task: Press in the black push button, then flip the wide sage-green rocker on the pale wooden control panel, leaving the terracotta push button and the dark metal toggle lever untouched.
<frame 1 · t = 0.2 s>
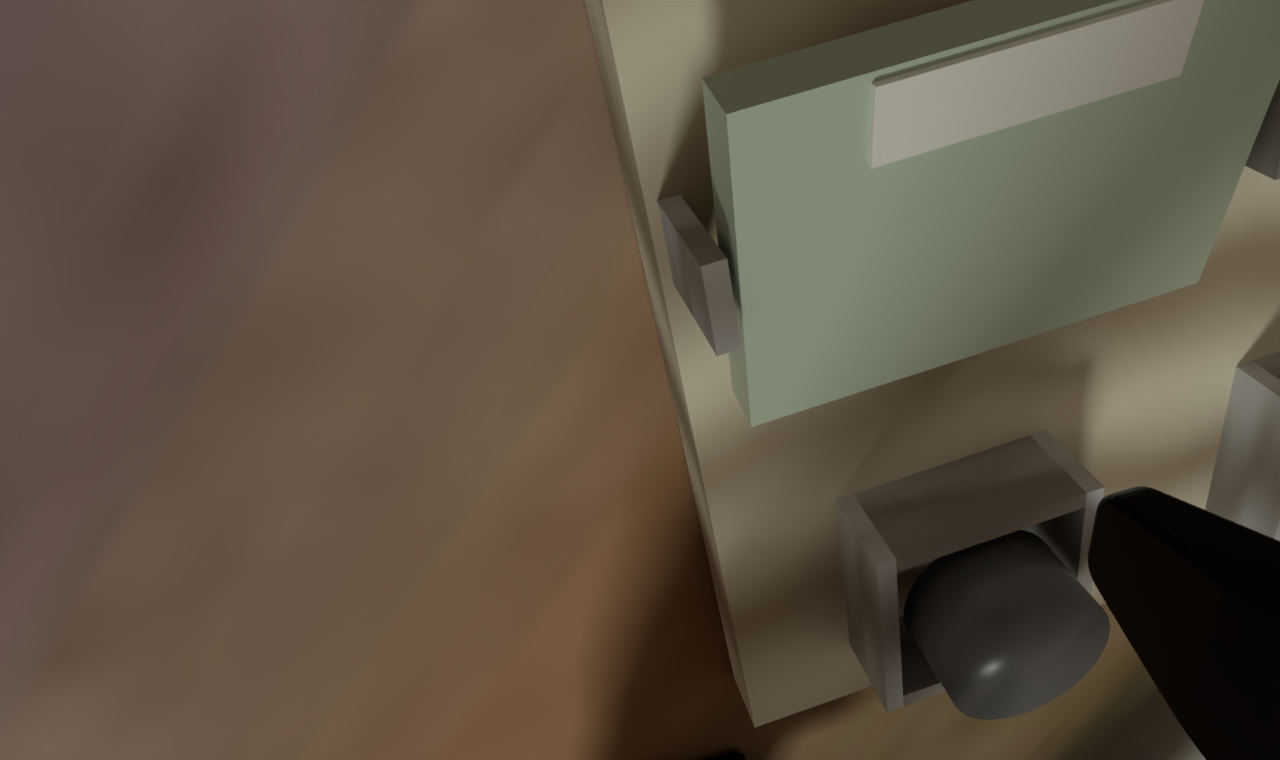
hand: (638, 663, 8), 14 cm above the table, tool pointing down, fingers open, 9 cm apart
green rocker: (991, 198, 19), point 4 cm above the table, hinge at -12.0°
control panel: (1105, 275, 26), on the table
black button: (1003, 624, 25), point 5 cm above the table, slide at 0.0 cm
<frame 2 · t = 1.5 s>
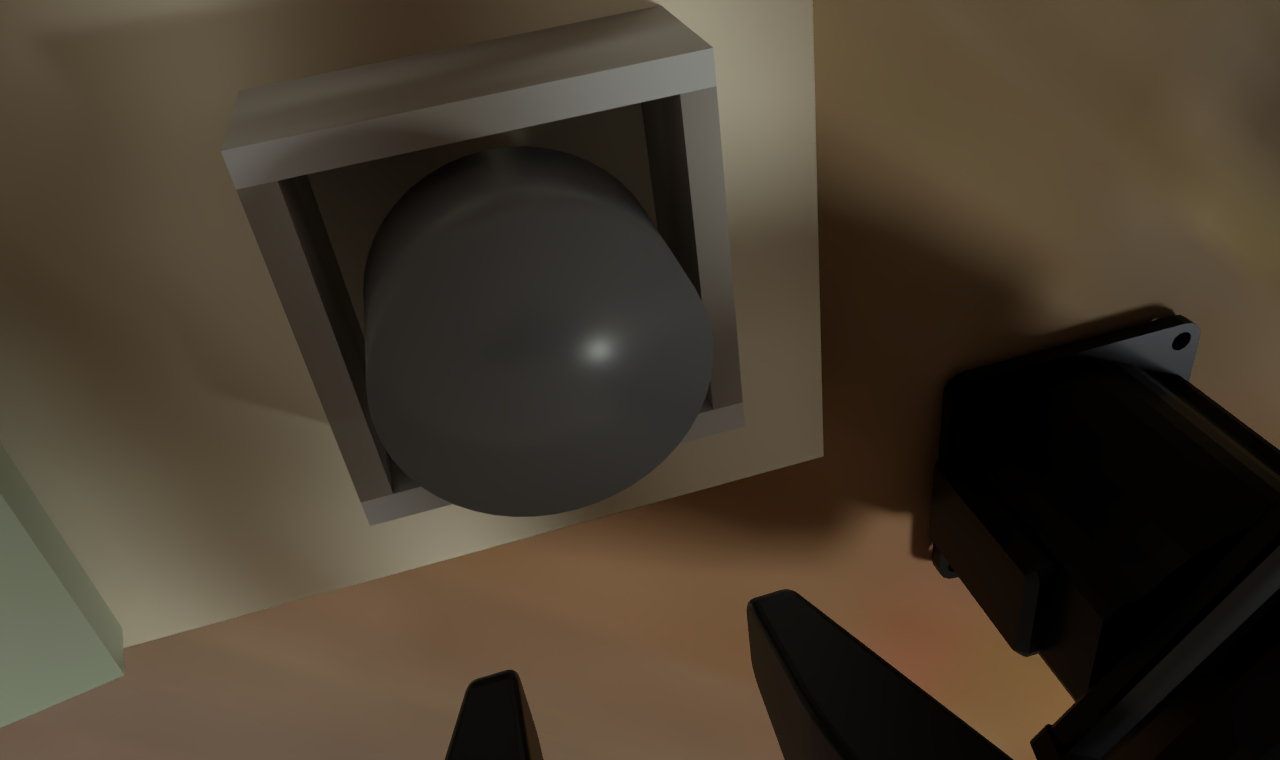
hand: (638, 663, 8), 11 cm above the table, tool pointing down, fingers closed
black button: (531, 333, 13), point 5 cm above the table, slide at 0.0 cm
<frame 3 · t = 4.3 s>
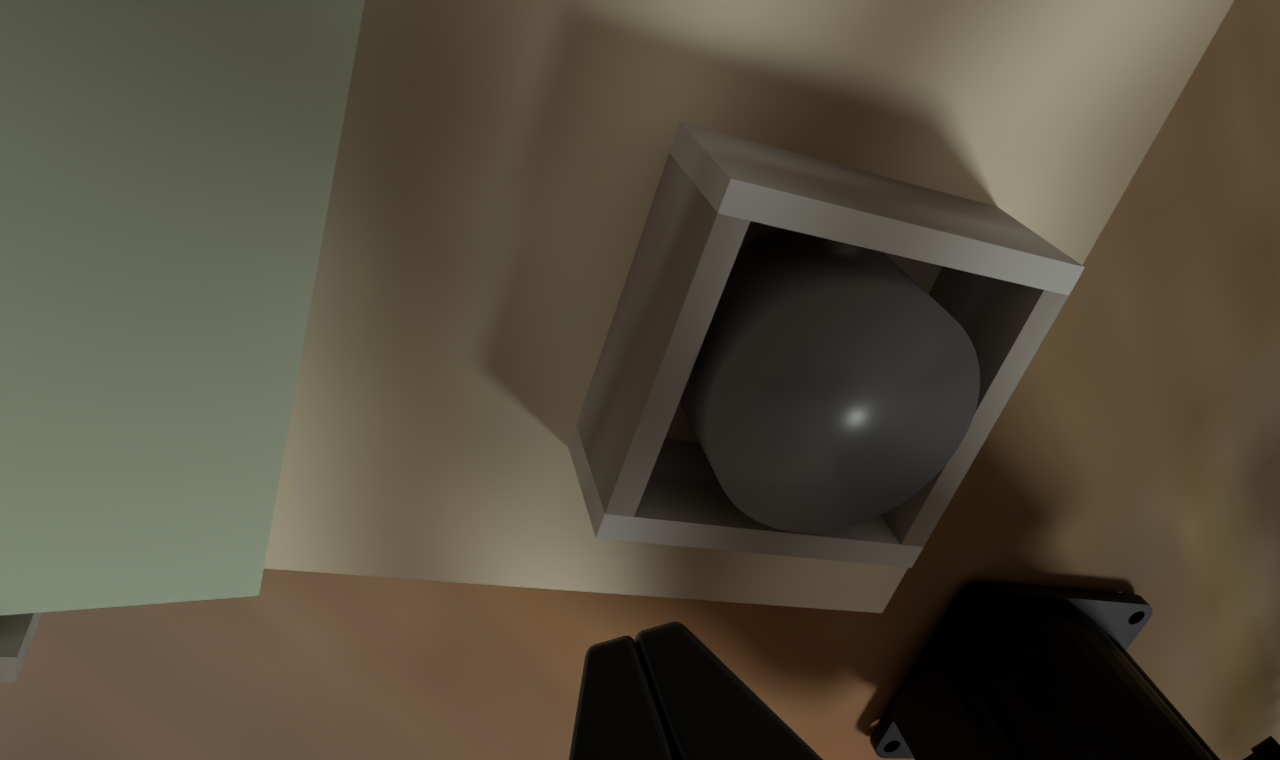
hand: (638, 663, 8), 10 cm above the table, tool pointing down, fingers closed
black button: (817, 379, 16), point 4 cm above the table, slide at 1.4 cm
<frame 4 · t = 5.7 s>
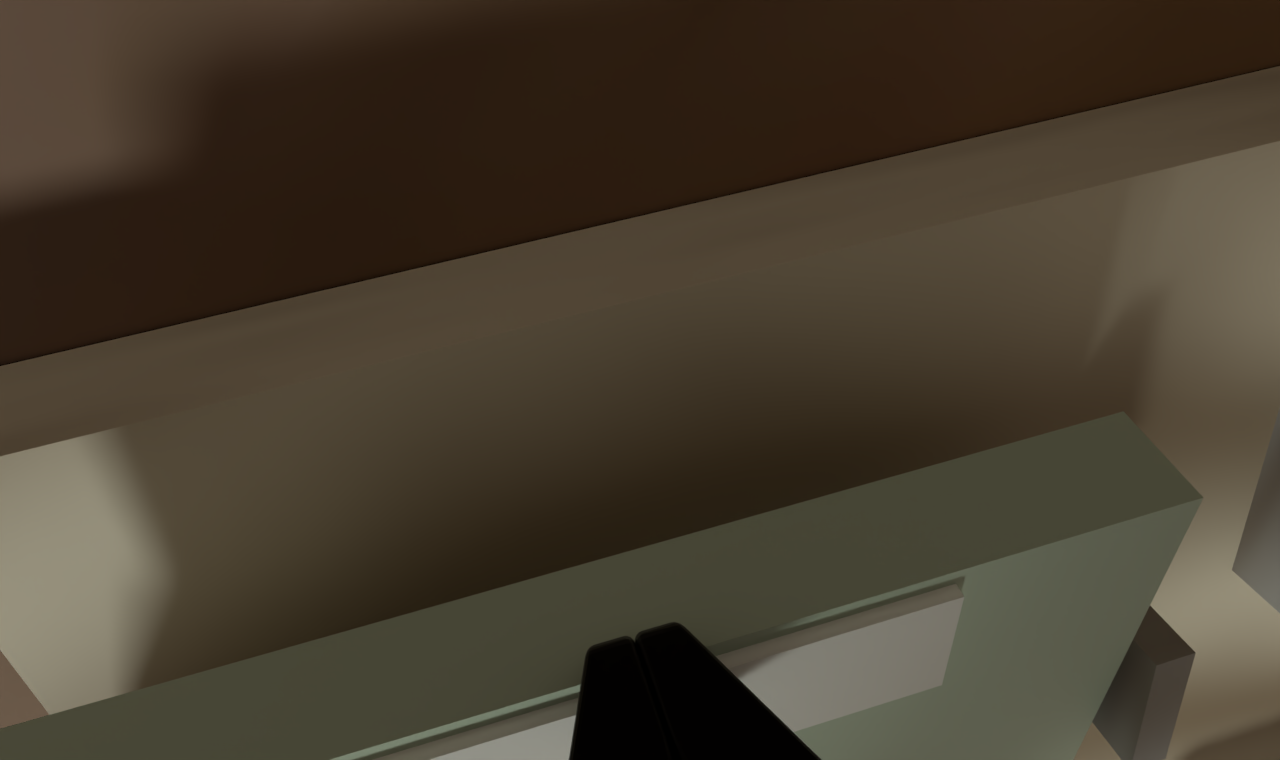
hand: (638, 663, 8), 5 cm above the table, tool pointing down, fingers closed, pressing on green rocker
control panel: (933, 701, 19), on the table
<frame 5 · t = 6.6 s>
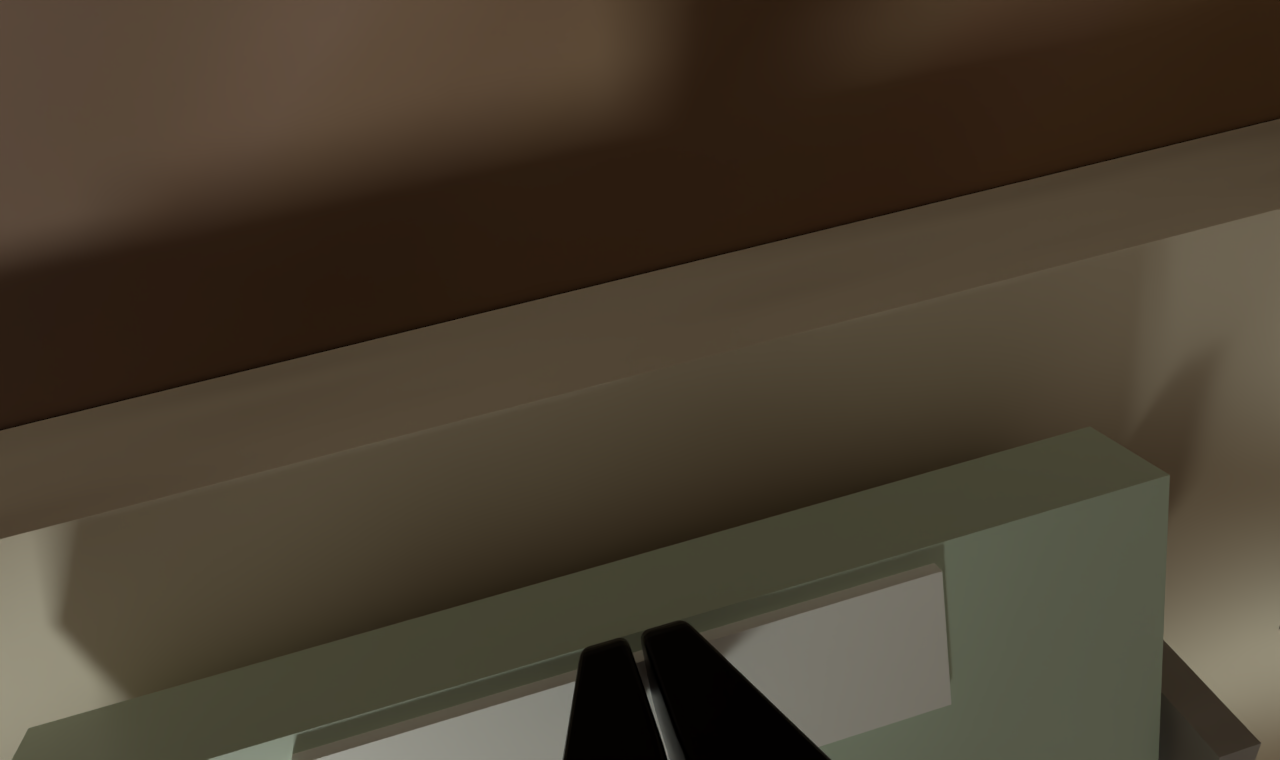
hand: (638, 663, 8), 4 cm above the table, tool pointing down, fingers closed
control panel: (959, 755, 18), on the table
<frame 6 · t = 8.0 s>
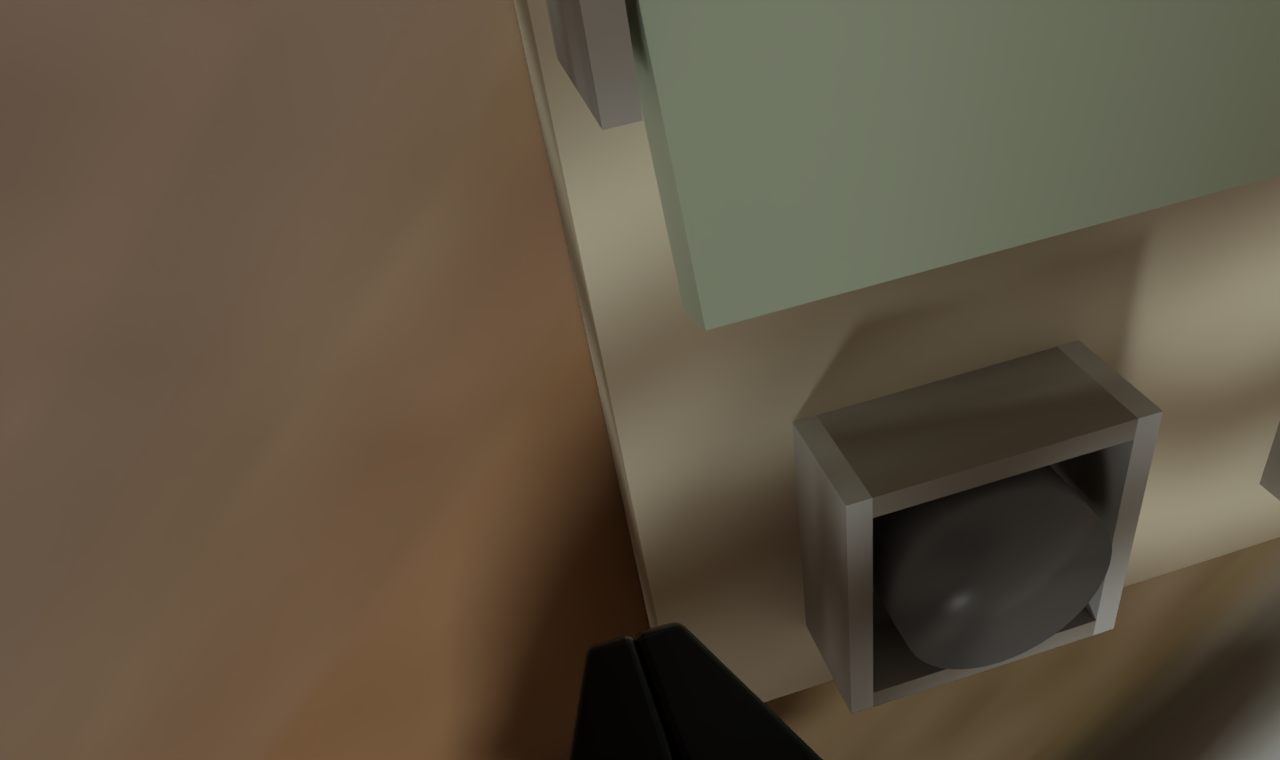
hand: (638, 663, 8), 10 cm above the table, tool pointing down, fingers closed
control panel: (1164, 137, 20), on the table
black button: (974, 547, 20), point 4 cm above the table, slide at 1.4 cm
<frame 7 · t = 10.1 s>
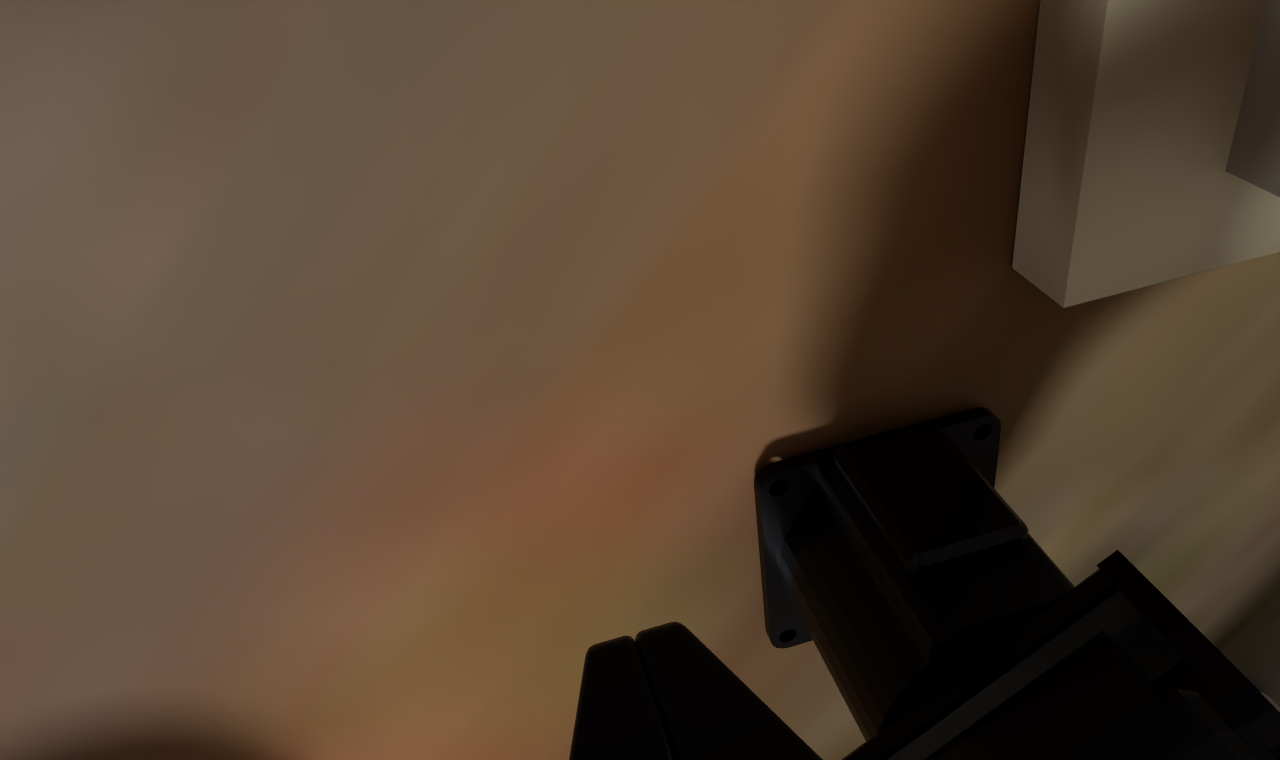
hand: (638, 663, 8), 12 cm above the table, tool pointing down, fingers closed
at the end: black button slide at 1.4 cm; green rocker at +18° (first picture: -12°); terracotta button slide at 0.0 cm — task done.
